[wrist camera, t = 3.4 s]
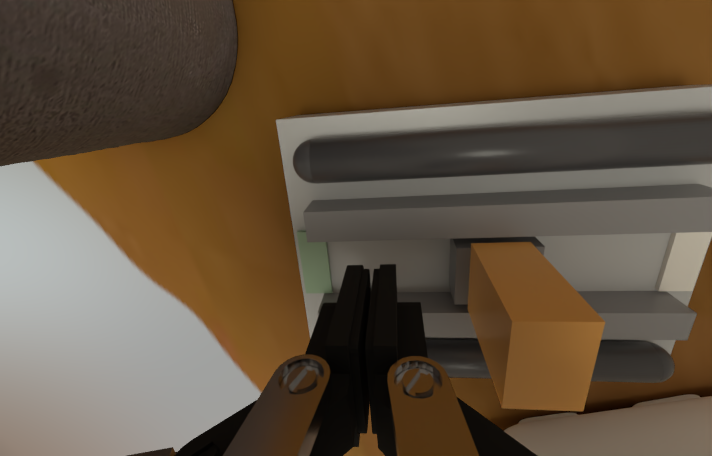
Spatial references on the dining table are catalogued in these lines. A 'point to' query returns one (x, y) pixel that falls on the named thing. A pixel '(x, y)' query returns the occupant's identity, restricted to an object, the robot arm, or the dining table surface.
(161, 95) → the pillar candle
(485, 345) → the lever
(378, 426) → the robot arm
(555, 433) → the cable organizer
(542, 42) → the dining table surface
